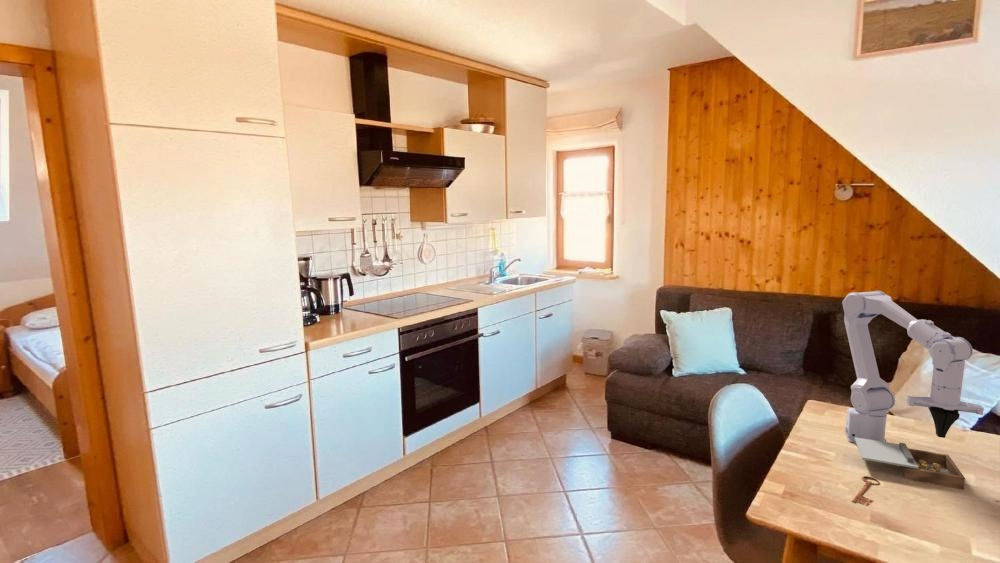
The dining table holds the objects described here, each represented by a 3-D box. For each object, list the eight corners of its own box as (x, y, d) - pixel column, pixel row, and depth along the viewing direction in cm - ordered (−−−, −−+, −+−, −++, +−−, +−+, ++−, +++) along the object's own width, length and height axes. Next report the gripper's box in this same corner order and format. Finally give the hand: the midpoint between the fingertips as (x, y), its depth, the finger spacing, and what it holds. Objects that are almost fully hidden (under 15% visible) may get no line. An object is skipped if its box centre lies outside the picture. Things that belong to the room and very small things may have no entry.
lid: (862, 459, 133) (862, 453, 132) (854, 438, 144) (855, 433, 143) (918, 468, 127) (918, 462, 127) (905, 446, 138) (906, 441, 138)
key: (872, 512, 117) (890, 487, 127) (873, 509, 117) (891, 484, 126) (843, 499, 121) (863, 476, 131) (844, 496, 121) (864, 473, 131)
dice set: (911, 471, 132) (911, 464, 132) (916, 464, 135) (917, 457, 135) (936, 478, 128) (937, 471, 128) (940, 471, 131) (941, 464, 131)
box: (904, 478, 129) (905, 467, 129) (893, 456, 140) (894, 446, 140) (963, 489, 124) (964, 478, 123) (947, 465, 135) (948, 454, 134)
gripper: (914, 386, 127) (908, 437, 129) (991, 395, 120) (983, 448, 123) (907, 377, 133) (902, 425, 135) (979, 385, 127) (973, 436, 129)
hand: (940, 435), depth 129 cm, fingers closed
